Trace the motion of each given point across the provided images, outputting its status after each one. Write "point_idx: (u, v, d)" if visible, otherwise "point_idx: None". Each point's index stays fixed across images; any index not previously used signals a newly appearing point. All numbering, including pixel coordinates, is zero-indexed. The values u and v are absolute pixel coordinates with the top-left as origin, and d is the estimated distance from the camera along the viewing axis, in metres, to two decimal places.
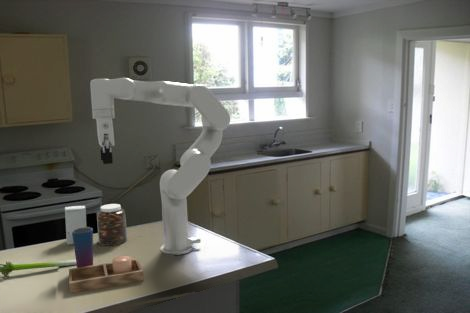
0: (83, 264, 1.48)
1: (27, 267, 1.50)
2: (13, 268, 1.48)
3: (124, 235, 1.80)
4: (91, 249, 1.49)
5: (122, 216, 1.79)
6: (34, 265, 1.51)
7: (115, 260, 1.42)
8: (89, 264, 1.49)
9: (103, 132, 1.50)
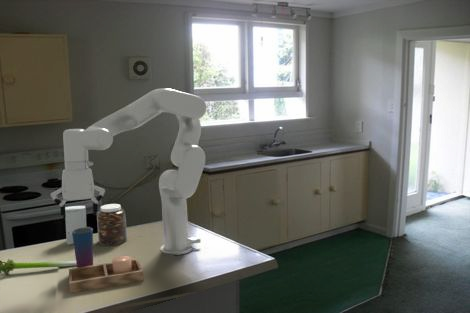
0: (83, 264, 1.48)
1: (27, 266, 1.51)
2: (14, 266, 1.50)
3: (124, 235, 1.80)
4: (91, 249, 1.49)
5: (122, 216, 1.79)
6: (34, 264, 1.51)
7: (115, 260, 1.42)
8: (89, 264, 1.49)
9: (93, 183, 1.47)
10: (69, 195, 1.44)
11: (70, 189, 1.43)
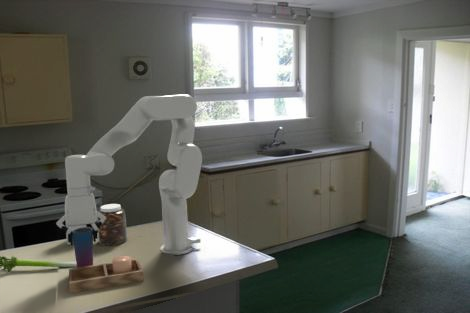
0: (83, 265, 1.48)
1: (28, 264, 1.52)
2: (16, 264, 1.53)
3: (124, 235, 1.80)
4: (91, 249, 1.49)
5: (122, 216, 1.79)
6: (35, 263, 1.53)
7: (115, 260, 1.42)
8: (89, 264, 1.49)
9: None
10: (72, 221, 1.45)
11: (73, 215, 1.45)
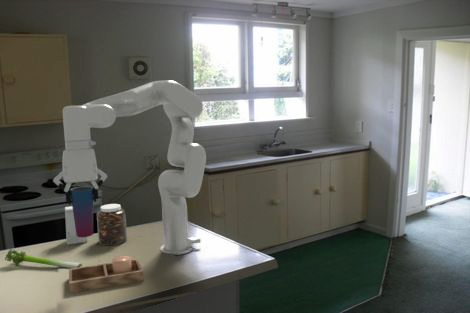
0: (82, 226, 1.35)
1: (33, 260, 1.56)
2: (23, 259, 1.57)
3: (124, 235, 1.80)
4: (91, 209, 1.36)
5: (122, 216, 1.79)
6: (39, 260, 1.55)
7: (115, 260, 1.42)
8: (89, 226, 1.36)
9: (96, 164, 1.36)
10: (70, 177, 1.32)
11: (71, 171, 1.32)
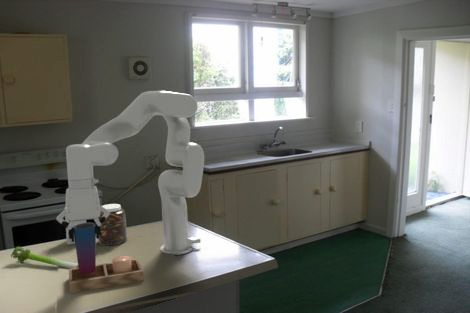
0: (84, 263, 1.36)
1: (36, 259, 1.57)
2: (27, 257, 1.59)
3: (124, 235, 1.80)
4: (94, 246, 1.38)
5: (122, 216, 1.79)
6: (41, 259, 1.57)
7: (115, 260, 1.42)
8: (91, 263, 1.37)
9: (99, 202, 1.37)
10: (74, 215, 1.34)
11: (74, 209, 1.34)
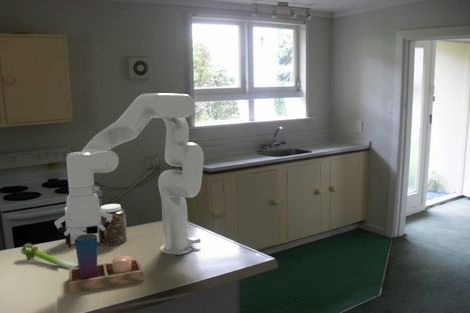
0: (86, 274, 1.37)
1: (41, 256, 1.60)
2: (34, 254, 1.62)
3: (124, 235, 1.80)
4: (95, 257, 1.39)
5: (122, 216, 1.79)
6: (45, 257, 1.59)
7: (115, 260, 1.42)
8: (93, 273, 1.38)
9: (99, 209, 1.38)
10: (74, 223, 1.34)
11: (75, 216, 1.34)
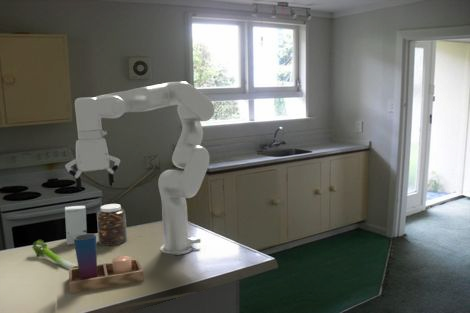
0: (86, 274, 1.37)
1: (47, 254, 1.62)
2: (42, 251, 1.65)
3: (124, 235, 1.80)
4: (95, 257, 1.39)
5: (122, 216, 1.79)
6: (50, 255, 1.60)
7: (115, 260, 1.42)
8: (93, 273, 1.38)
9: None
10: (84, 166, 1.39)
11: (85, 159, 1.39)
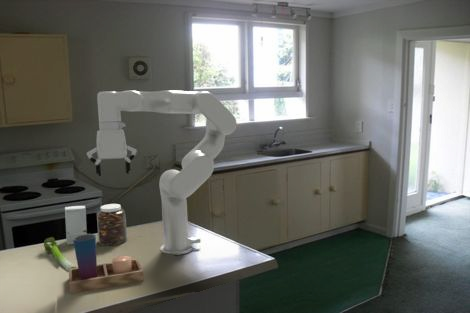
0: (86, 274, 1.37)
1: (53, 252, 1.63)
2: (51, 249, 1.67)
3: (124, 235, 1.80)
4: (94, 257, 1.38)
5: (122, 216, 1.79)
6: (55, 253, 1.62)
7: (115, 260, 1.42)
8: (93, 273, 1.38)
9: None
10: (104, 154, 1.52)
11: (105, 148, 1.52)
